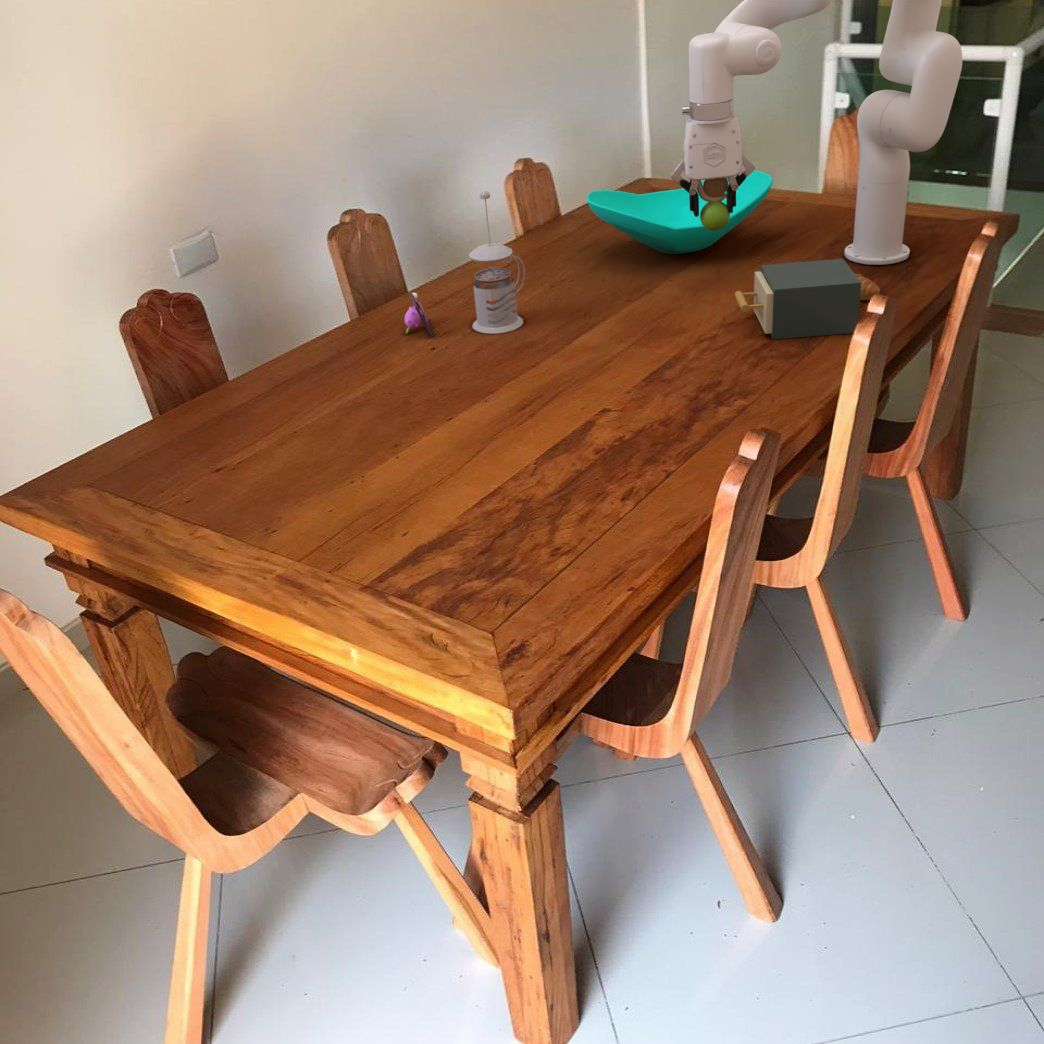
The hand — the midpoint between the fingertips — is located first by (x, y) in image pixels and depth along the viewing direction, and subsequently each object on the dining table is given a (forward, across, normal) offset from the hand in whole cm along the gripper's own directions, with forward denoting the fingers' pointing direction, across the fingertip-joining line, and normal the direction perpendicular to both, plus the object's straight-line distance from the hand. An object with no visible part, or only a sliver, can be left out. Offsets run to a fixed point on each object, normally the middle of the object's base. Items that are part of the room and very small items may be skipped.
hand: (712, 211), depth 202 cm
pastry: (+17, +25, -4) cm, 31 cm away
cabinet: (+17, +14, -16) cm, 27 cm away
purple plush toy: (+15, -57, -5) cm, 59 cm away
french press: (+16, -41, -4) cm, 44 cm away
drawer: (+16, +11, -16) cm, 25 cm away
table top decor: (+17, -3, +30) cm, 34 cm away
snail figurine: (+4, 0, 0) cm, 4 cm away
